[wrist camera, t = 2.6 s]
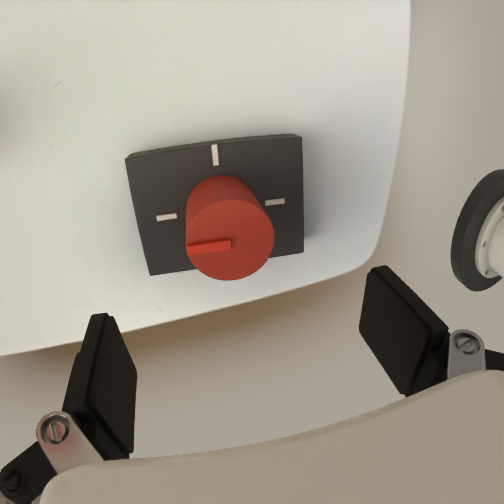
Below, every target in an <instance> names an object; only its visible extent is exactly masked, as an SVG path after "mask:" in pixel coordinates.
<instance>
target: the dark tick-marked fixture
mask: <svg viewBox="0 0 504 504" xmlns="http://www.w3.org/2000/svg"><path fill="white" fill-rule="evenodd" d="M125 164H126V169H127V175H128V180H129V186H130V191H131V196H132V201H133V206H134V211H135V215H136V220H137V225H138V229H139V233H140V238H141V242H142V246H143V250H144V254H145V258H146V262H147V266H148V270H149V274H150V276H153V275H159V274H166V273H173V272H180V271H186V270H193V269H197V268H196V267H195V266H194V265H193V263H192V262H191V260H190V258H189V256H188V253H187V249H186V205H187V200H188V197H189V195H190V193H191V192H192V190H193V189H194V188H195V187H196V185H198V184H199V183H200V182H201V181H203V180H205V179H207V178H209V177H212V176H217V175H227V176H232V177H235V178H237V179H239V180H241V181H242V182H244V183H245V184H246V185H247V186H248V187H249V188H250V190H251V191H252V193H253V195H254V196H255V198H256V199H257V201H258V202H259V204H260V205H261V207H262V208H263V210H264V211H265V213H266V214H267V216H268V218H269V219H270V221H271V223H272V226H273V229H274V246H273V249H272V252H271V254H270V256H269V258H272V257H278V256H285V255H291V254H298V253H303V252H304V202H303V155H302V137H300V136H297V135H295V134H281V135H267V136H255V137H244V138H234V139H225V140H216V141H208V142H201V143H193V144H186V145H180V146H173V147H167V148H161V149H155V150H149V151H144V152H138V153H133V154H130V155H129V156H128V157H127V158H126V159H125Z"/></svg>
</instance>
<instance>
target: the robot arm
mask: <svg viewBox="0 0 504 504" xmlns="http://www.w3.org/2000/svg"><path fill="white" fill-rule="evenodd" d="M475 264H476V268H477V270H478V271H479V273H480V274H482V275H483V276H484V277H487V278H493V277H496V276H498V275H500V276H501V277H503V278H504V197H503V198H501V199H500V200H499V201H498V202H497V203H496V204H495V205H494V206H493V207H492V209H491V210H490V212H489V213H488V215H487V217H486V218H485V220H484V223H483V225H482V227H481V230H480V232H479V235H478V239H477V243H476V249H475ZM448 329H449V328H448V326H447V325H446V324H445V323H444V322H443V321H442V320H441V319H440V318H439V317H438V316H437V315H436V314H435V313H434V312H433V311H432V310H431V309H430V308H429V307H428V306H427V305H426V304H425V303H424V302H423V300H422V299H420V298H419V297H418V295H417V294H416V293H415V292H414V291H413V290H412V289H411V288H410V287H409V286H407V285H406V284H405V283H404V282H403V281H402V280H401V279H400V278H399V277H398V276H397V275H396V274H395V273H394V272H393V271H392V270H391V269H390V268H389V267H388V266H386V265H384V266H379V267H374V268H372V269H371V271H370V272H369V273H368V274H367V279H366V286H365V292H364V299H363V305H362V311H361V317H360V323H359V331H360V334H361V336H362V337H363V338H364V340H365V342H366V343H367V345H368V346H369V347H370V349H371V350H372V352H373V353H374V355H375V356H376V358H377V359H378V361H379V362H380V364H381V365H382V367H383V368H384V370H385V371H386V373H387V374H388V376H389V377H390V379H391V381H392V382H393V384H394V385H395V387H396V388H397V390H398V391H399V393H400V394H404V395H405V396H406V398H404V399H402V400H399V401H397V402H394V403H392V404H389V405H387V406H384V407H381V408H379V409H376V410H374V411H371V412H368V413H365V414H362V415H359V416H356V417H353V418H350V419H347V420H344V421H341V422H338V423H335V424H331V425H328V426H325V427H321V428H318V429H315V430H311V431H307V432H303V433H300V434H296V435H292V436H288V437H283V438H279V439H275V440H270V441H265V442H261V443H256V444H251V445H246V446H240V447H234V448H229V449H222V450H215V451H208V452H201V453H192V454H183V455H174V456H163V457H151V458H135V459H129V453H132V452H133V451H134V421H135V401H136V400H135V399H136V386H137V371H136V368H135V365H134V363H133V361H132V359H131V356H130V354H129V352H128V350H127V347H126V345H125V343H124V340H123V338H122V336H121V333H120V331H119V328H118V326H117V323H116V321H115V319H114V317H113V316H109V315H108V313H100V314H93V315H91V318H90V321H89V324H88V327H87V330H86V334H85V337H84V340H83V344H82V347H81V351H80V352H79V353H77V355H76V357H75V360H74V364H73V367H72V371H71V375H70V379H69V382H68V387H67V391H66V395H65V399H64V403H63V407H62V411H54V412H50V413H49V414H46V415H45V416H44V417H43V418H42V419H41V420H40V422H39V423H38V425H37V429H36V436H37V439H38V441H37V442H35V443H34V444H33V445H32V446H30V447H29V448H28V449H26V450H25V451H24V452H22V453H21V454H20V455H19V456H17V457H16V458H15V459H13V460H12V461H11V462H10V463H8V464H7V465H6V466H5V467H4V468H3V469H2V470H1V472H0V504H504V354H503V353H499V352H495V351H491V350H487V349H484V344H483V341H482V339H481V338H480V337H479V336H478V335H477V334H475V333H474V332H472V331H469V330H463V329H461V330H456V331H455V332H453V333H452V334H450V333H449V332H448Z"/></svg>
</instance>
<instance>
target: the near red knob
mask: <svg viewBox="0 0 504 504" xmlns="http://www.w3.org/2000/svg"><path fill="white" fill-rule="evenodd" d="M273 246H274V229H273V226H272V223H271V221H270V219H269V218H268V216H267V214H266V213H265V211H264V210H263V208H262V207H261V205H260V204H259V202H258V201H257V199H256V198H255V196H254V195H253V193H252V191H251V190H250V188H249V187H248V186H247V185H246V184H245V183H244V182H242V181H241V180H239V179H237V178H235V177H232V176H227V175H217V176H212V177H209V178H207V179H205V180H203V181H201V182H200V183H199V184H198V185H196V187H195V188H194V189H193V190H192V192H191V193H190V195H189V197H188V200H187V205H186V249H187V253H188V256H189V258H190V260H191V262H192V263H193V265H194V266H195V267H196V268H197V269H198V270H199V271H201V272H202V273H203V274H205V275H207V276H209V277H211V278H214V279H218V280H237V279H241V278H244V277H247V276H249V275H251V274H253V273H254V272H256V271H257V270H258V269H260V268H261V267H262V266H263V265H264V264H265V262H266V261H267V260H268V258H269V256H270V254H271V252H272V249H273Z"/></svg>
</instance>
